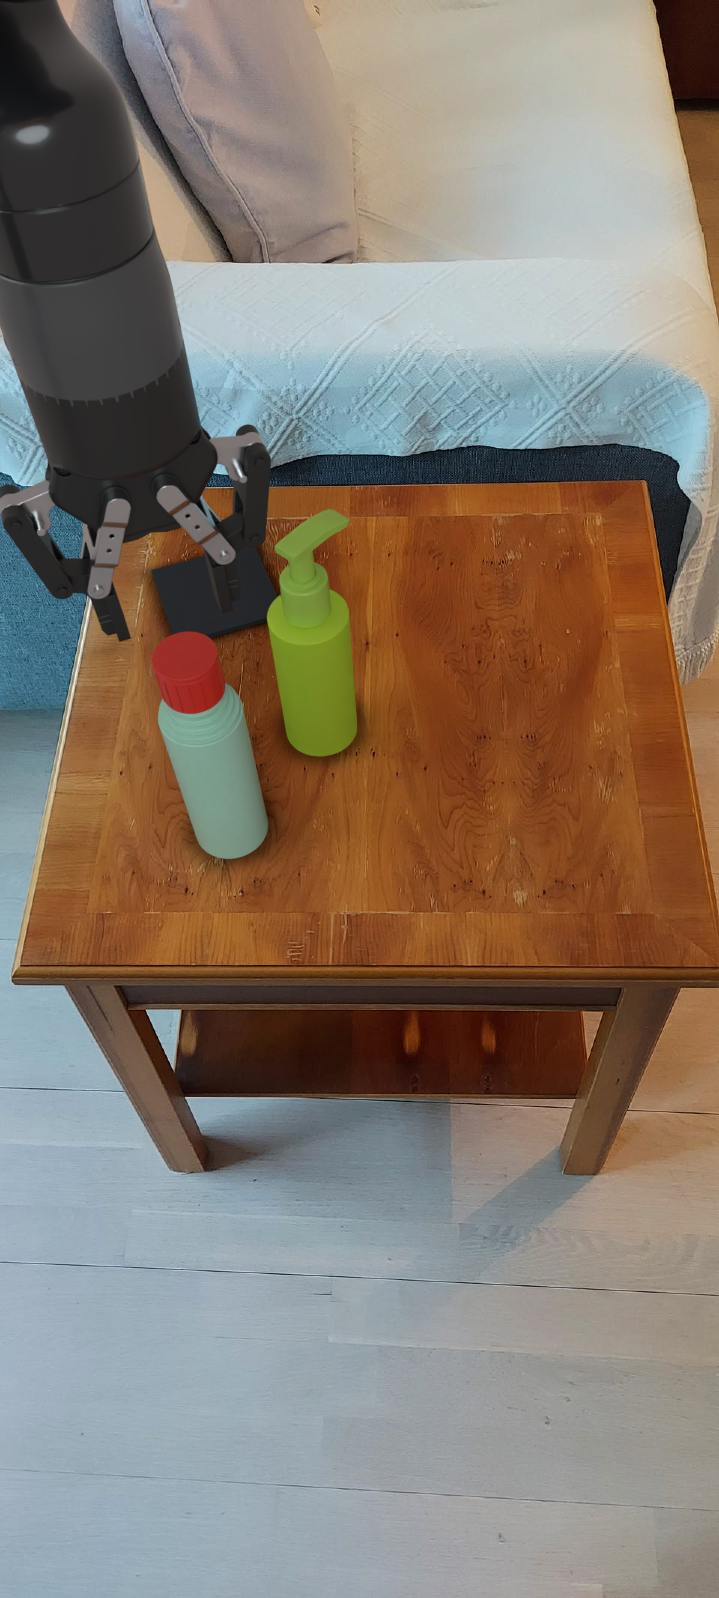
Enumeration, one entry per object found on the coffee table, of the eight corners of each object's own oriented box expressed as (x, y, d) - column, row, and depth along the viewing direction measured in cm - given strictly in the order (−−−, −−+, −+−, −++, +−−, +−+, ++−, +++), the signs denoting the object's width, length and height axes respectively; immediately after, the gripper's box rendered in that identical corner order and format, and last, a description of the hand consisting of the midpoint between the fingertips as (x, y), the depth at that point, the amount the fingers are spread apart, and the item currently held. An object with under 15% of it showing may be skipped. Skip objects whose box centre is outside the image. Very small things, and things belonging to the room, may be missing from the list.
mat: (177, 647, 88) (176, 643, 87) (152, 574, 93) (150, 569, 93) (285, 617, 90) (284, 612, 89) (254, 546, 95) (253, 541, 94)
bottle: (206, 868, 75) (151, 706, 59) (188, 810, 78) (132, 642, 62) (277, 845, 76) (242, 680, 60) (256, 789, 79) (218, 617, 63)
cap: (170, 722, 62) (159, 687, 59) (156, 676, 64) (144, 641, 62) (233, 703, 63) (225, 669, 60) (216, 659, 65) (208, 623, 62)
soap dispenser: (380, 717, 82) (372, 526, 66) (322, 768, 80) (298, 582, 63) (329, 682, 85) (309, 489, 68) (271, 730, 82) (235, 542, 66)
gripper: (-57, 431, 41) (63, 697, 55) (276, 350, 43) (310, 626, 57) (-75, 336, 45) (41, 607, 59) (231, 267, 47) (273, 543, 61)
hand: (173, 615), depth 58 cm, fingers open, 5 cm apart
